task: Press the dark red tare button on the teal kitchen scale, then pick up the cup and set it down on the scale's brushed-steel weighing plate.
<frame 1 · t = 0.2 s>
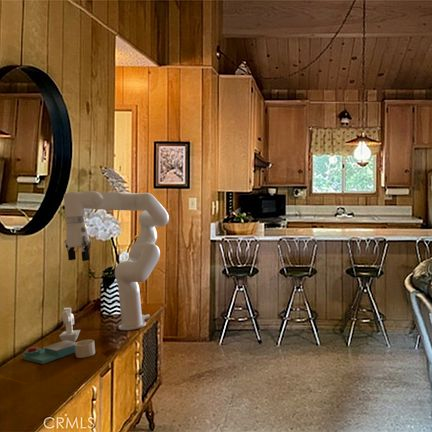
hand: (79, 260, 212), 36 cm above the sideboard, tool pointing down, fingers open, 9 cm apart
figurine: (70, 341, 218), on the sideboard
weighing plate: (62, 353, 201), resting on scale
tare button: (32, 349, 198), point 3 cm above the sideboard, slide at 0.1 cm
scale: (51, 355, 200), on the sideboard
cup: (85, 354, 198), on the sideboard
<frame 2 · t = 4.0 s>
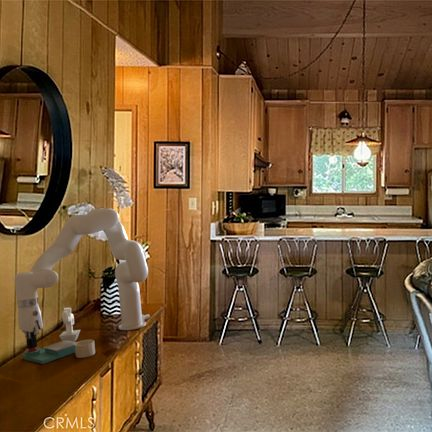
hand: (32, 347, 198), 4 cm above the sideboard, tool pointing down, fingers closed
tare button: (32, 349, 198), point 3 cm above the sideboard, slide at 0.1 cm, touching gripper
everything else where it was.
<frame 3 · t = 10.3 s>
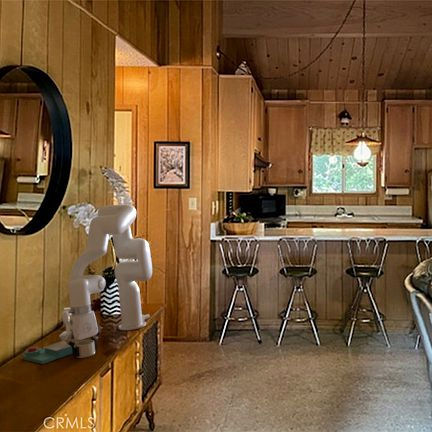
hand: (85, 352, 198), 1 cm above the sideboard, tool pointing down, fingers closed on cup, 7 cm apart
tare button: (32, 349, 198), point 3 cm above the sideboard, slide at 0.1 cm
cup: (85, 354, 198), on the sideboard, touching gripper
everything else where it was.
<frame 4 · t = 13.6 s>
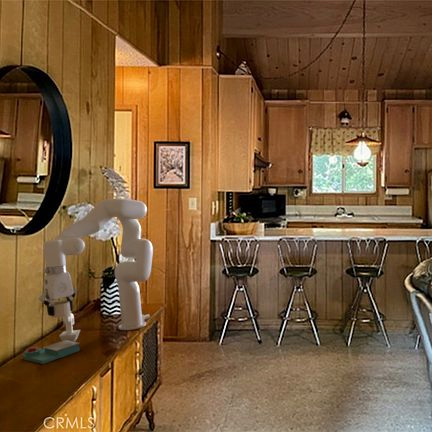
hand: (60, 312, 200), 17 cm above the sideboard, tool pointing down, fingers closed on cup, 7 cm apart
cup: (60, 314, 200), point 16 cm above the sideboard, touching gripper
everything else where it was.
when the fingers open (4 cm above the sideboard, at t = 17.1 s): cup stays where it is, resting on weighing plate.
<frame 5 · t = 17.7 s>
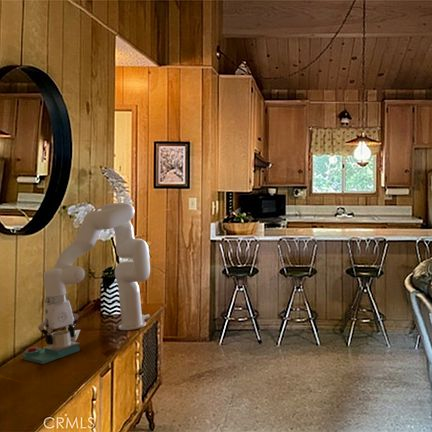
hand: (60, 340, 201), 5 cm above the sideboard, tool pointing down, fingers open, 9 cm apart
cup: (61, 345, 201), point 3 cm above the sideboard, touching weighing plate
everything else where it was.
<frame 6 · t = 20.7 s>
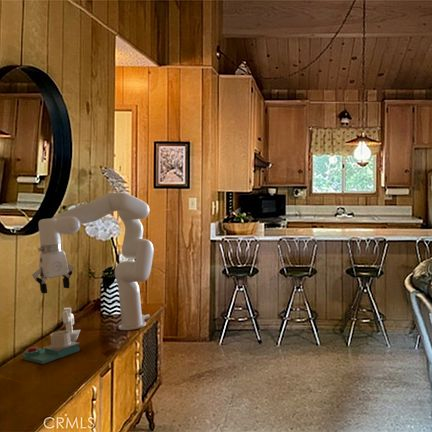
hand: (55, 290, 200), 26 cm above the sideboard, tool pointing down, fingers open, 9 cm apart
nothing on the sideboard moved.
at the end: tare button pushed in 0.9 cm at the most during the clip and back out by the end; cup inside the target area on the weighing plate (0.1 cm from its centre), point 3.5 cm above the weighing plate's base; cup tilted 0° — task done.
